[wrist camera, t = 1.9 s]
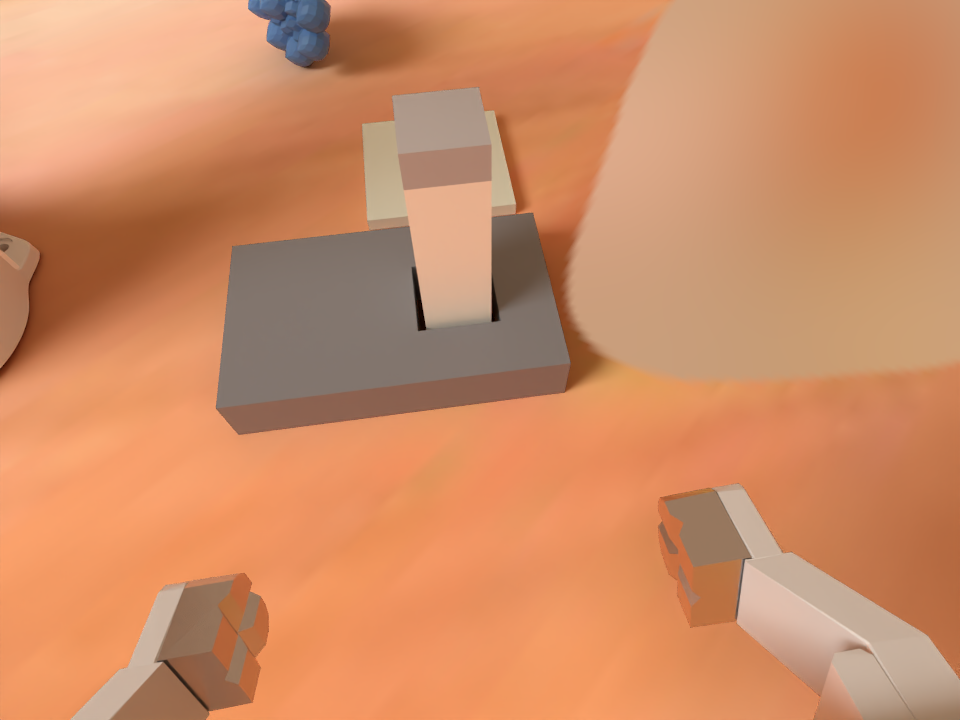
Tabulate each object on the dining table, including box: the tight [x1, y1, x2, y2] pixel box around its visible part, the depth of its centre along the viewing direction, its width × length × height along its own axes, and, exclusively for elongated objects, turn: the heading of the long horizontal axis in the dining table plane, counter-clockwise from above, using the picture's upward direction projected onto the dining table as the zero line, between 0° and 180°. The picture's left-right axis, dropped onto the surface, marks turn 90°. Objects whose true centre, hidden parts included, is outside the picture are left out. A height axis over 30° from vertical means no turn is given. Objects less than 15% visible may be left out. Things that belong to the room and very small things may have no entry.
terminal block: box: [216, 213, 571, 435], centre depth 39 cm, size 20×12×4 cm, turn 98°
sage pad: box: [362, 110, 516, 230], centre depth 48 cm, size 11×11×1 cm
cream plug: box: [392, 87, 492, 330], centre depth 33 cm, size 4×4×16 cm
